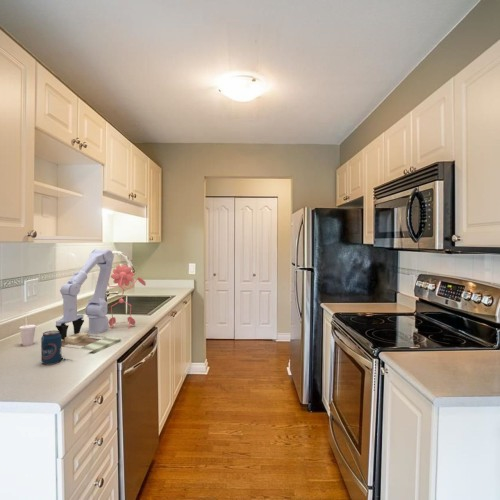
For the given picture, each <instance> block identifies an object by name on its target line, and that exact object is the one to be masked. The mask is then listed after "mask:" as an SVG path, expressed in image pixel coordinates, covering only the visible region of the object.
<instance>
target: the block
mask: <svg viewBox="0 0 500 500" xmlns="http://www.w3.org/2000/svg"><path fill="white" fill-rule="evenodd" d="M88 335H89V332H88V333H87V332H79V333H77V334H74V333H73V334H71V335H69V336H68V335H67V337H65V343H69V344H68V345H70V344H75V343H78V342H80V341H83V340H86V339H88V338H89V337H88Z"/></svg>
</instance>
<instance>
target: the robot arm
mask: <svg viewBox="0 0 500 500" xmlns="http://www.w3.org/2000/svg"><path fill="white" fill-rule="evenodd" d="M114 257H115V255H114V253H113V251H112V250H111V249H96V248H94V249H93V250H92V251H91V253H89V258H88V260H86V262H85V264H84V265H83V266H82V268H81V269H80V270H77V271H74V273H73V275H72V276H71V278H69V280H68V281H67V282H66V283H64V284H63V285H62V286H61V287H60V289H59V293H60V294H61V298H62V300H63V301H62V302H63V303H62V305H63V306H62V308H63V309H62V310H63V311H62V314H63V316H62V318H60V319H59V320H56V321H55V328H56V329H57V331H60V332H59V333H60V334H61V341H62V340H65V337H68V328H69V324H68V323H72V325H73V335H74V334H77V333H81V328H82V326H83V324H84V322H85V319H84V314H85V315H86V316H87V318H88V334H99V333H103V332H105V331H109V318H108V316H106V315H107V314H108V304H109V303H108V302H107V301H106V299H105V298H106V295H107V291H108V287H109V286H108V283H109V281H110V278H111V275H112V271H113V269H112V268H113V262H114ZM96 265H97V267H99V273H98V277H97V281H96V285H95V290H94V293H93V297H92V298H91V299H90V300H88V302H87V305H86V306H85V309H84V312H85V313H84V314H78V295H79V294H80V291H81V288H82V285H83V284H84V282H85V281H86V280H87V279H88V274H89V273H90V272H91V270H92V269H93V268H94V267H95V266H96Z"/></svg>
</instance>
